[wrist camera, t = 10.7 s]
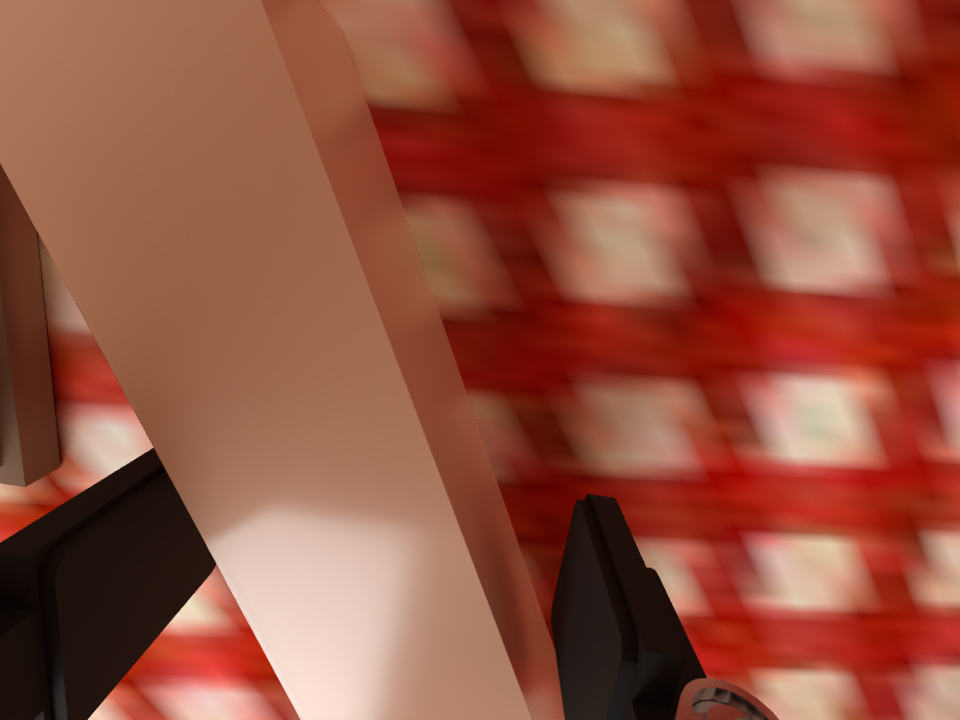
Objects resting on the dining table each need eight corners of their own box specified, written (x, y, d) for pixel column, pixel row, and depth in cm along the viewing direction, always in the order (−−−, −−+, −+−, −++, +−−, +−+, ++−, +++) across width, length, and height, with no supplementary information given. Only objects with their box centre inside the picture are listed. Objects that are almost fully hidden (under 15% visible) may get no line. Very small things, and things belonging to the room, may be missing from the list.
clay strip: (345, 35, 10) (210, -134, 5) (567, 682, 15) (602, 907, 10) (177, 100, 11) (-88, -1, 6) (442, 709, 15) (417, 936, 10)
